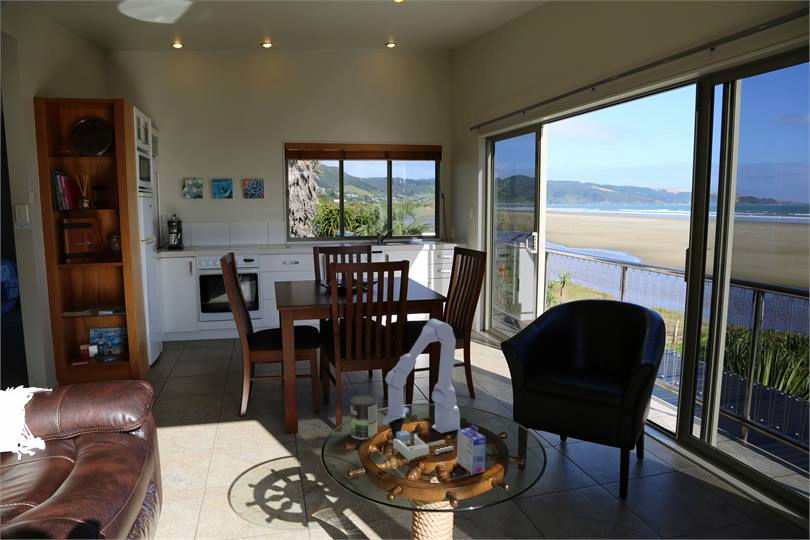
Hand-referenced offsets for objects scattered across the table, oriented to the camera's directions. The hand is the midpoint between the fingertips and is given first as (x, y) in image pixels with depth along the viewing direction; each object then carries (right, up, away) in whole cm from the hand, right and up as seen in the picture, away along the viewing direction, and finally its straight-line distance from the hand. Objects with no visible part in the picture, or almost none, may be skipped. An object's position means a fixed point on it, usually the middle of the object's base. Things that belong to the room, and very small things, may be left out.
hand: (396, 436), depth 218 cm
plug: (+3, -2, -5) cm, 6 cm away
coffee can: (-13, -1, +5) cm, 13 cm away
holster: (+16, -2, -10) cm, 19 cm away
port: (+6, -3, -11) cm, 13 cm away
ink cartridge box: (+26, -4, -23) cm, 35 cm away
